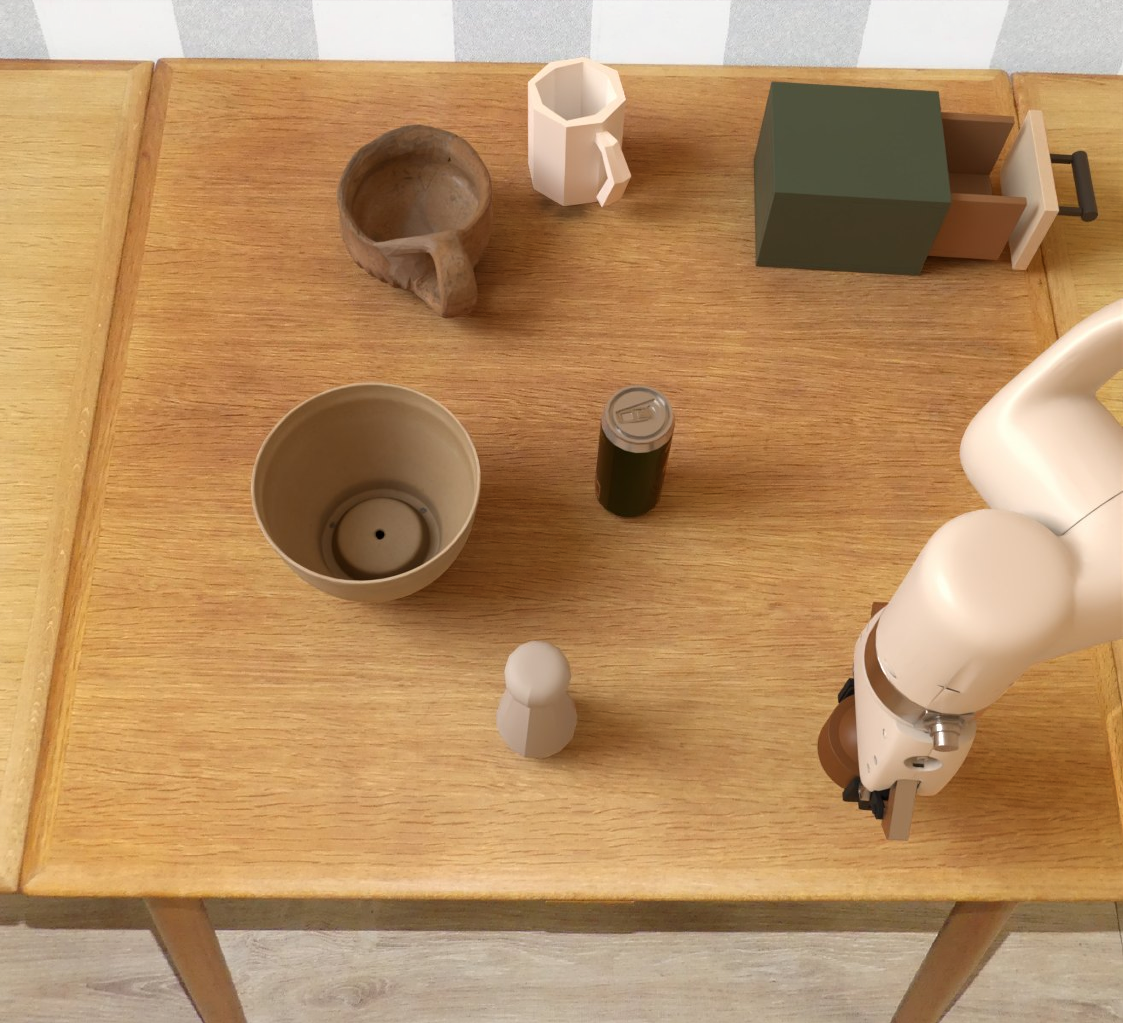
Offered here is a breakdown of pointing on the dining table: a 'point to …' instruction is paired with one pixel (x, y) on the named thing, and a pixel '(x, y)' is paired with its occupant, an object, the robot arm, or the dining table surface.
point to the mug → (577, 133)
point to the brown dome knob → (840, 744)
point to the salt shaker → (536, 701)
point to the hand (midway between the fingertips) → (863, 748)
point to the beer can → (633, 450)
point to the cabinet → (849, 178)
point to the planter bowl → (367, 490)
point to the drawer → (1004, 188)
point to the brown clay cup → (419, 214)
